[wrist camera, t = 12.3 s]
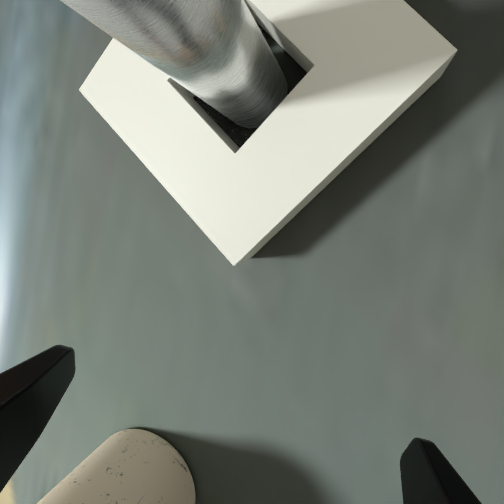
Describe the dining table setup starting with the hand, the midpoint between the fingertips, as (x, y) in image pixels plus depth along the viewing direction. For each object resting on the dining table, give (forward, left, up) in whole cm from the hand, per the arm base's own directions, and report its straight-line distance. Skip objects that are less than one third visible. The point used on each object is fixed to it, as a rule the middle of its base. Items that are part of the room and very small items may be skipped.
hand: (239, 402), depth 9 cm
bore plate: (+11, -6, -12) cm, 17 cm away
